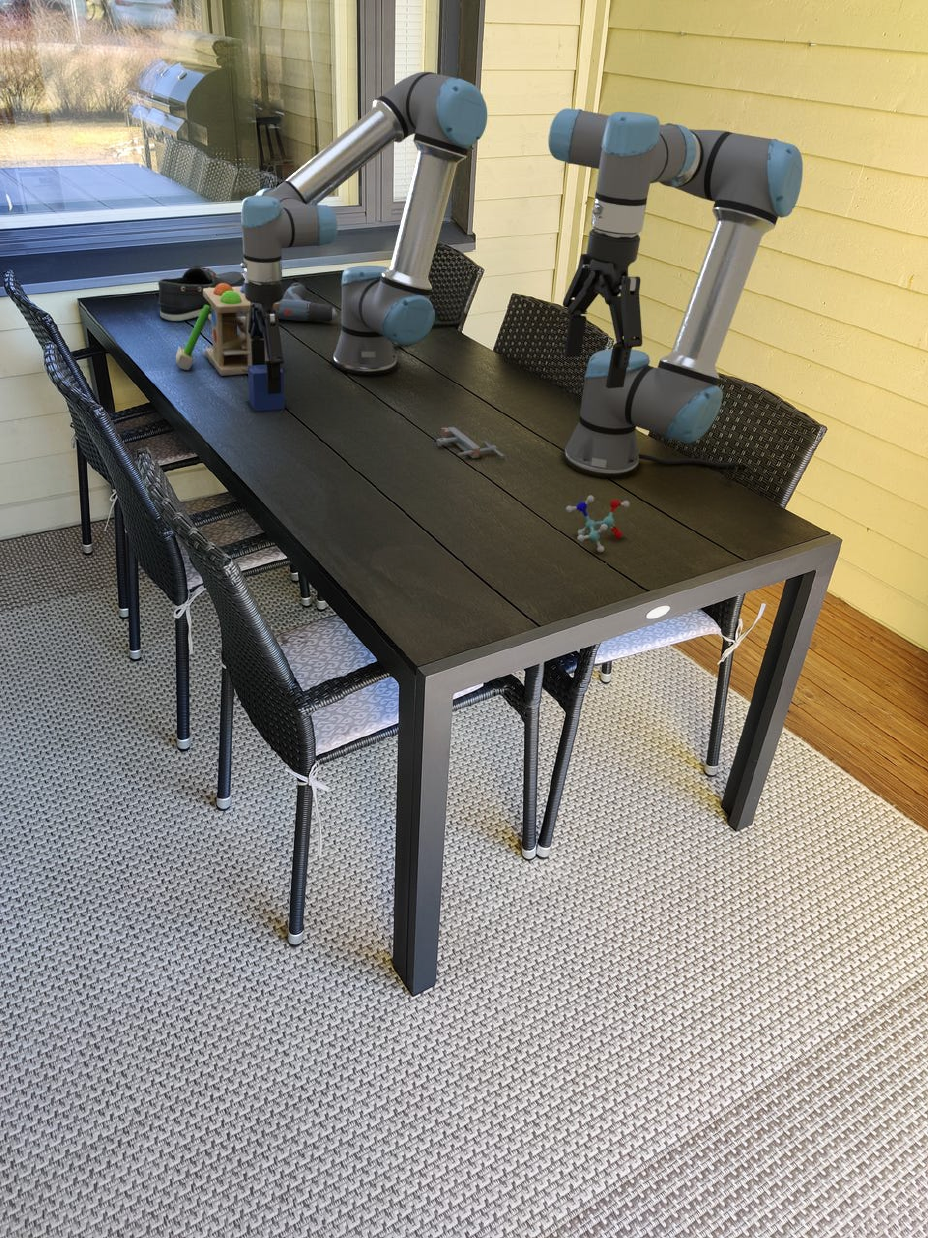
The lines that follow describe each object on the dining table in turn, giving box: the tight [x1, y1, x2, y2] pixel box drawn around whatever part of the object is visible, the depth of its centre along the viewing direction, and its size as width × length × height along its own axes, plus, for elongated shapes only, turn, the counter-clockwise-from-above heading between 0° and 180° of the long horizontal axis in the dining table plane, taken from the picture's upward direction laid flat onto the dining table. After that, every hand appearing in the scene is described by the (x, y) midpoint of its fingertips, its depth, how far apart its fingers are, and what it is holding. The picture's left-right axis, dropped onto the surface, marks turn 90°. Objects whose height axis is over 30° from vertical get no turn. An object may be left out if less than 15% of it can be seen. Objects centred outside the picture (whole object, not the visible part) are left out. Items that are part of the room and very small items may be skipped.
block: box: [247, 365, 286, 412], centre depth 210 cm, size 5×6×8 cm
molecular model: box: [565, 495, 630, 554], centre depth 173 cm, size 12×10×10 cm
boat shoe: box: [157, 265, 246, 322], centre depth 263 cm, size 13×33×10 cm, turn 147°
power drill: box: [275, 282, 338, 322], centre depth 265 cm, size 5×19×20 cm
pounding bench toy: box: [174, 283, 280, 377], centre depth 225 cm, size 23×14×18 cm, turn 116°
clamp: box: [436, 426, 507, 460], centre depth 201 cm, size 15×2×10 cm
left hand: (266, 381), depth 210 cm, fingers open, 13 cm apart
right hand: (592, 371), depth 156 cm, fingers open, 13 cm apart
